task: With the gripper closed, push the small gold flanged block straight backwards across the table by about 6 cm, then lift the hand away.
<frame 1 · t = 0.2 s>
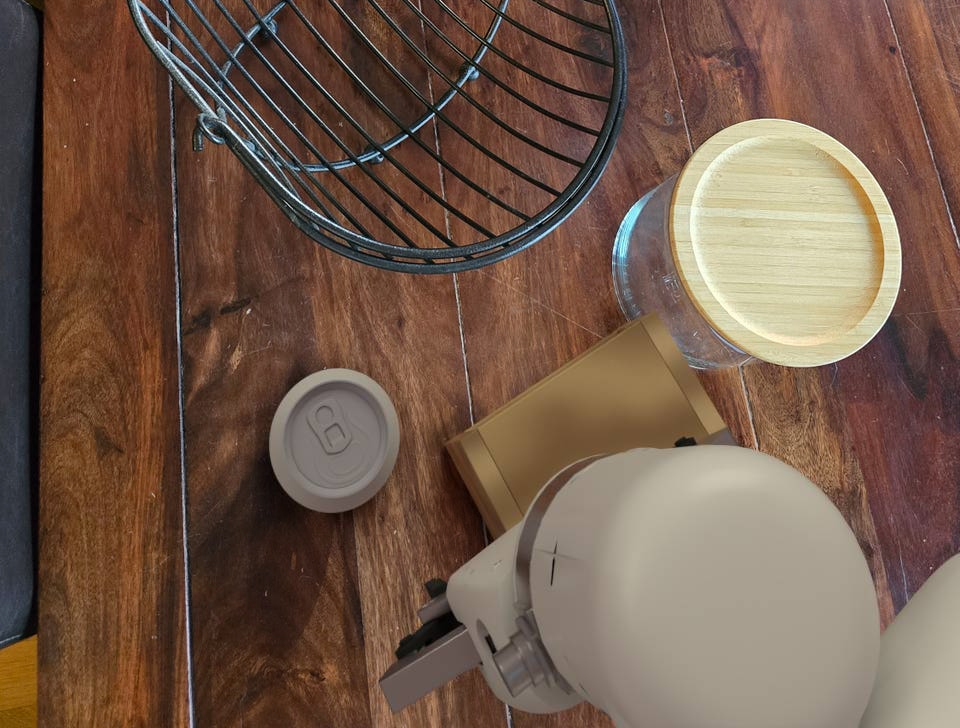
hand: (535, 550, 54), 17 cm above the table, tool pointing down, fingers open, 9 cm apart
gold flanged block: (580, 456, 71), on the table
beverage can: (329, 443, 70), on the table
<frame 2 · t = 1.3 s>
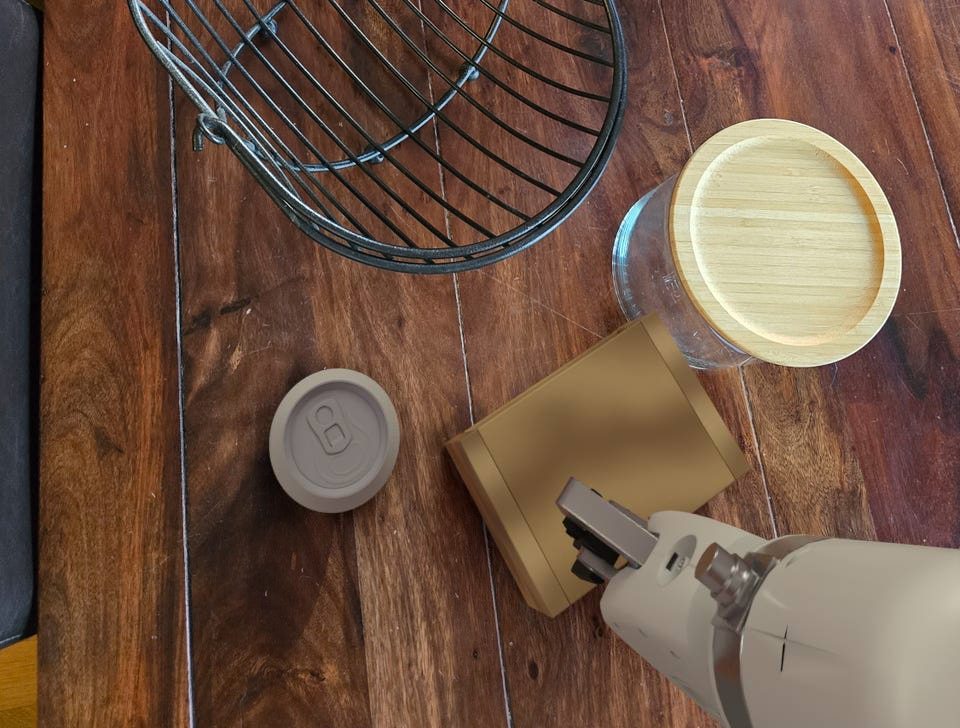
hand: (678, 615, 53), 18 cm above the table, tool pointing down, fingers open, 9 cm apart
nothing on the table moved.
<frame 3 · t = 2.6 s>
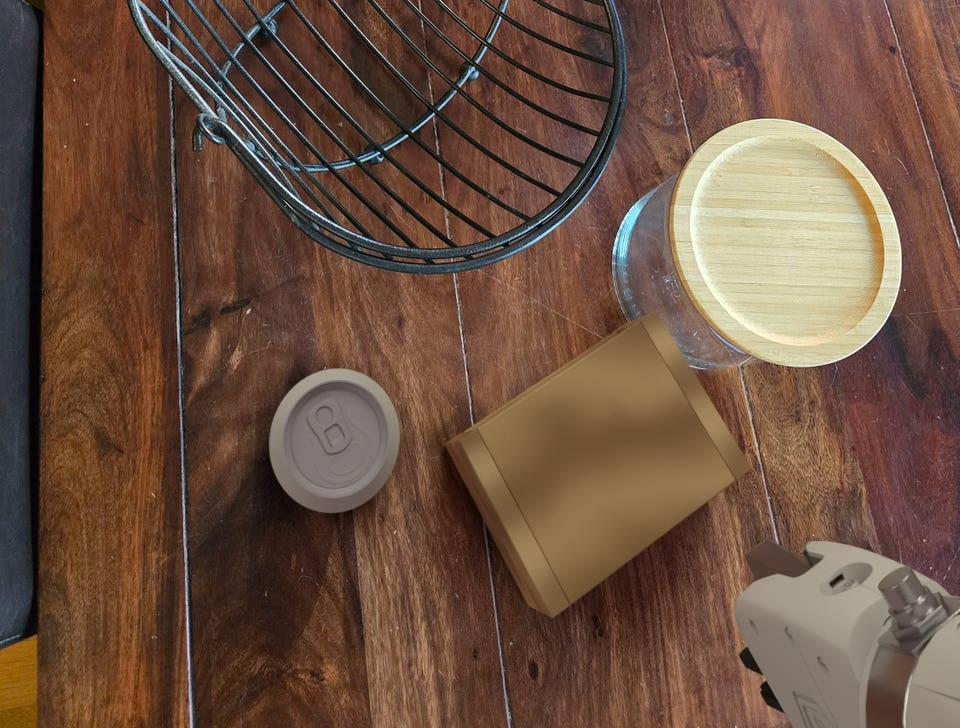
hand: (777, 657, 53), 17 cm above the table, tool pointing down, fingers closed
nothing on the table moved.
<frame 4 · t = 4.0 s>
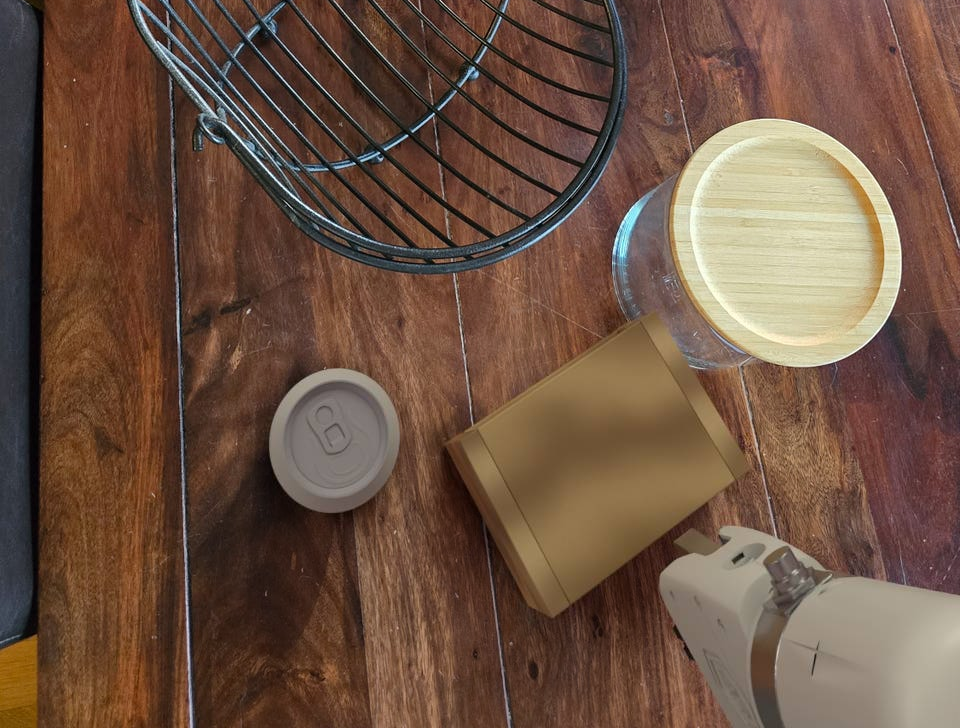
hand: (701, 624, 63), 7 cm above the table, tool pointing down, fingers closed
nothing on the table moved.
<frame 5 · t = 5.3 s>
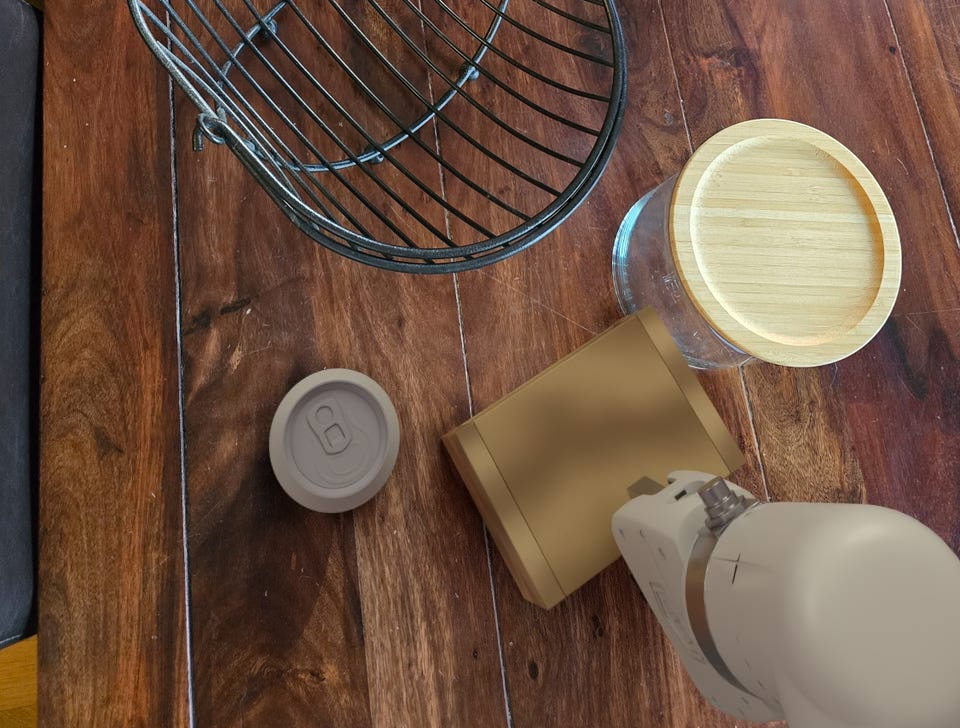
hand: (657, 571, 66), 3 cm above the table, tool pointing down, fingers closed
gold flanged block: (576, 450, 72), on the table, touching gripper
everything else where it was.
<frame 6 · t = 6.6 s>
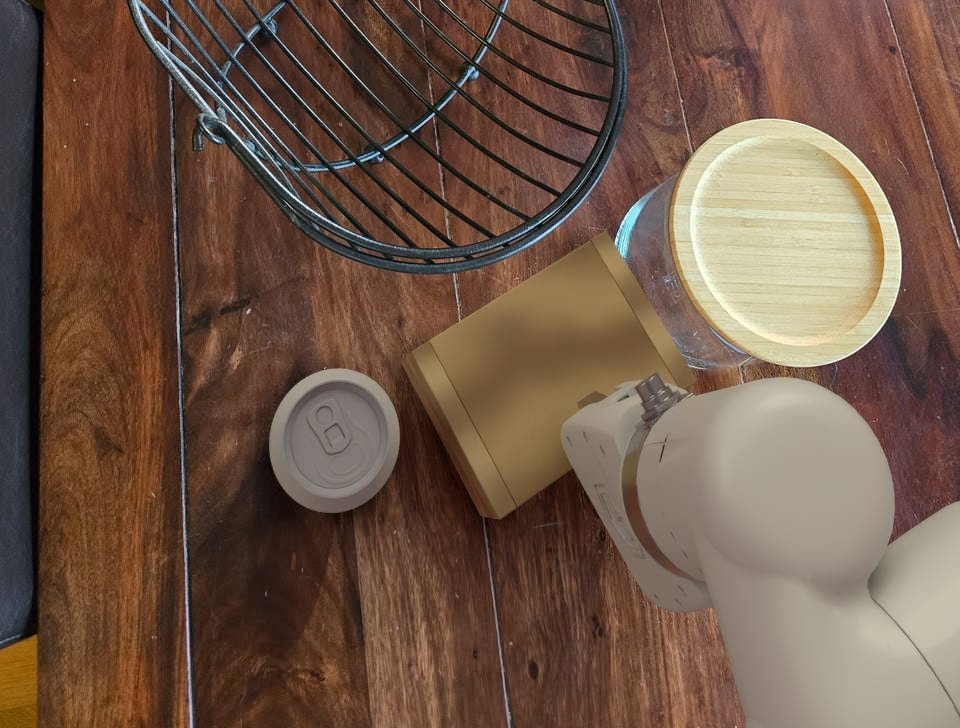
hand: (610, 489, 68), 3 cm above the table, tool pointing down, fingers closed
gold flanged block: (533, 375, 73), on the table, touching gripper
everything else where it was.
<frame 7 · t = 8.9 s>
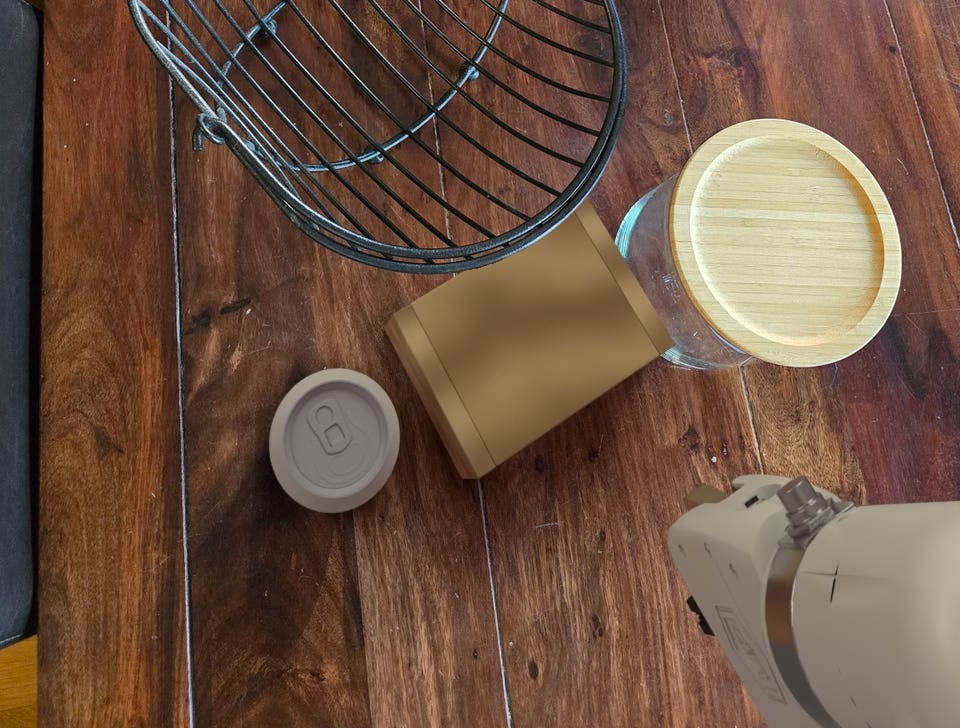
hand: (718, 597, 57), 13 cm above the table, tool pointing down, fingers closed
gold flanged block: (515, 341, 74), on the table
everything else where it was.
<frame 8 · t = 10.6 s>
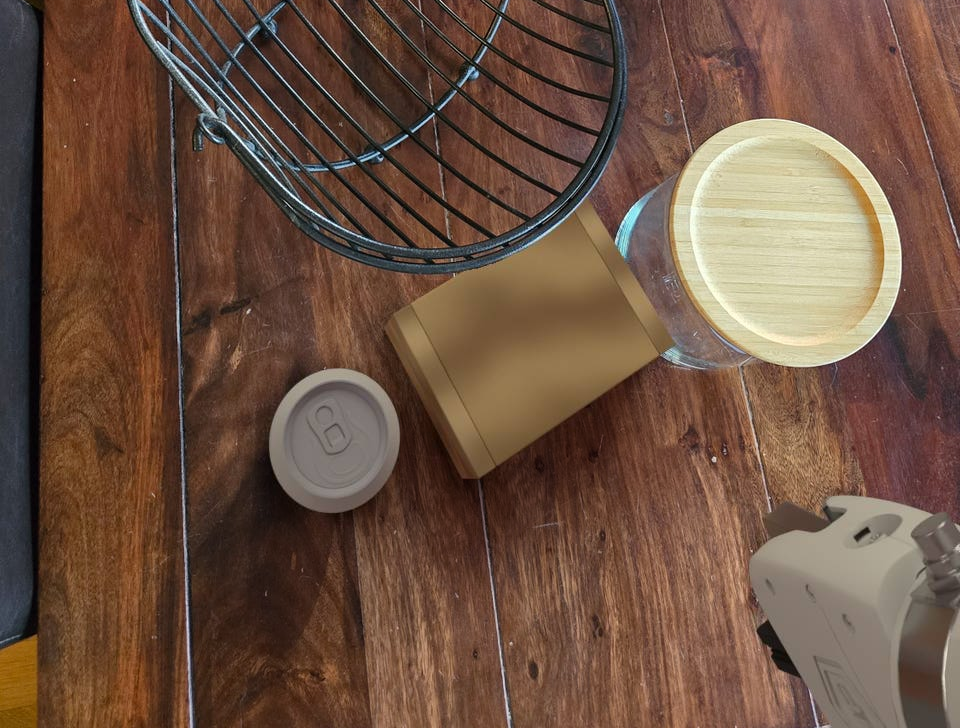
hand: (792, 626, 49), 22 cm above the table, tool pointing down, fingers closed
nothing on the table moved.
at the end: gold flanged block 0.7 cm from the target spot, on the table; gold flanged block tilted 0°; beverage can moved 0.2 cm from its start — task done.
